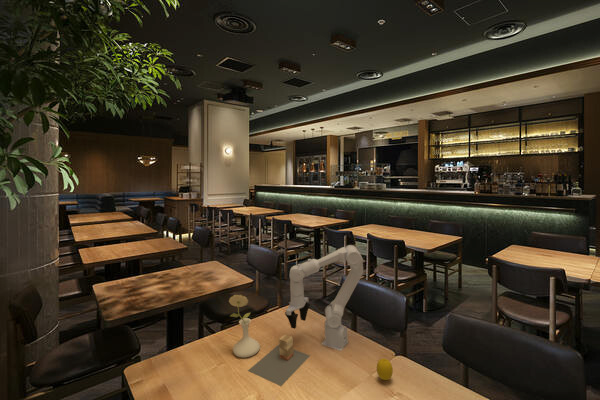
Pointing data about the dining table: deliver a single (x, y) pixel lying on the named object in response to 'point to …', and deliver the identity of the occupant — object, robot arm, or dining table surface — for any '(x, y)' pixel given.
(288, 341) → the maple block
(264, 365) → the rubber mat
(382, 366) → the lemon
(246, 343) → the flower in vase
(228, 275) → the dining table surface
